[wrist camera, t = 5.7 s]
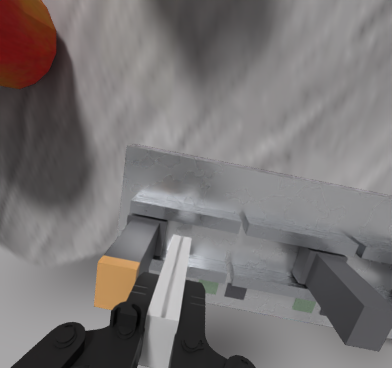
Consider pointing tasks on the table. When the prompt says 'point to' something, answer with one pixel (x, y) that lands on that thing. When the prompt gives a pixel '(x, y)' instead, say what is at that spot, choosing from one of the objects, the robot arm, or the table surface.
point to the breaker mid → (345, 298)
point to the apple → (25, 42)
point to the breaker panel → (257, 228)
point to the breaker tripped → (128, 259)
